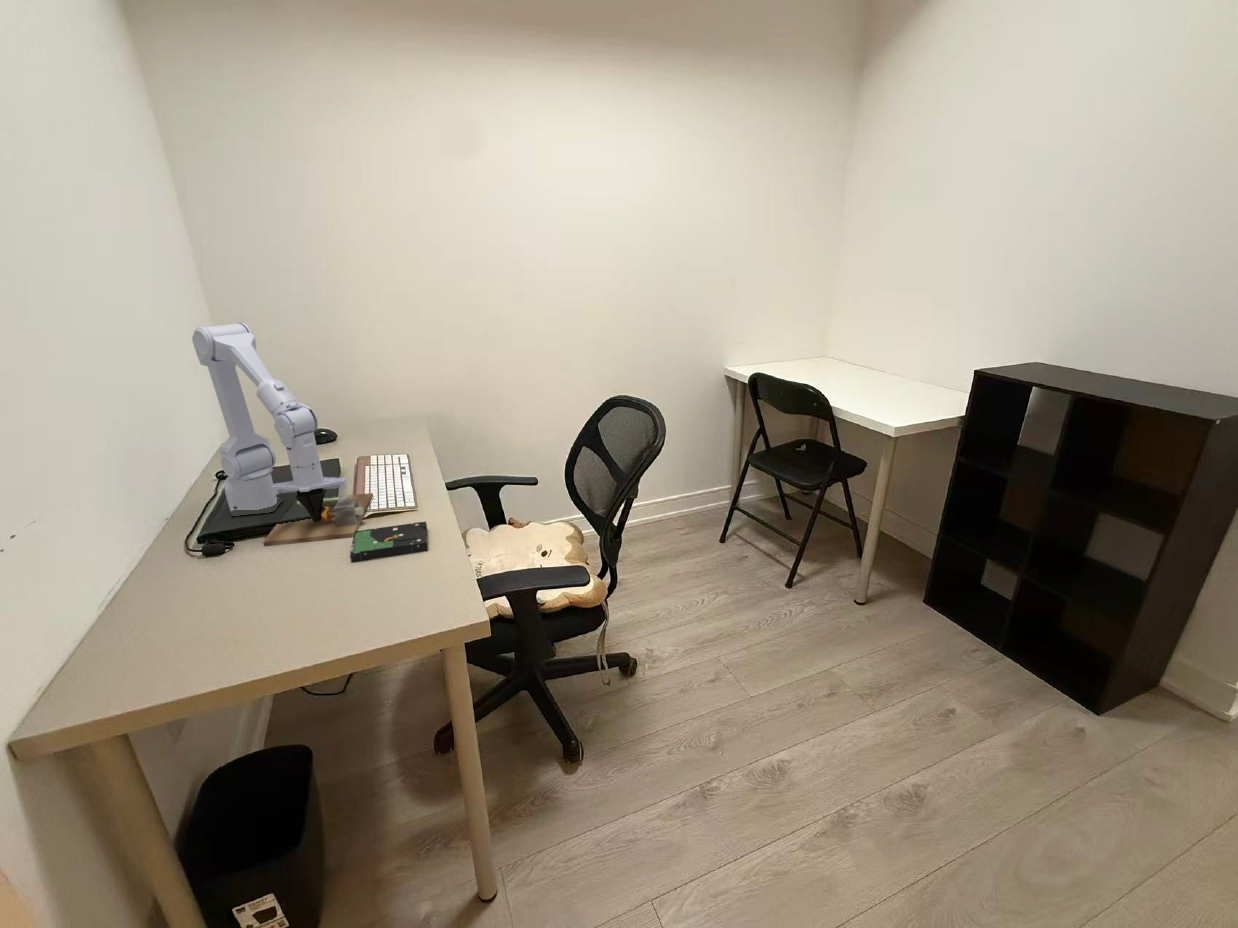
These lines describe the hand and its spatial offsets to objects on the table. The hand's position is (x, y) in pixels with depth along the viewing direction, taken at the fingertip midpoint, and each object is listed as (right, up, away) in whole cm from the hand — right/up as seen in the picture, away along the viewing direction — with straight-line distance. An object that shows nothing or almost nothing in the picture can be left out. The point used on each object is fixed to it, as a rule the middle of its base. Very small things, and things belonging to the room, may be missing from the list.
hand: (317, 519), depth 127 cm
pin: (+5, 0, +1) cm, 6 cm away
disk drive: (+19, -5, -7) cm, 21 cm away
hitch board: (-1, 0, +5) cm, 5 cm away
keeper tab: (-1, +3, +5) cm, 6 cm away
